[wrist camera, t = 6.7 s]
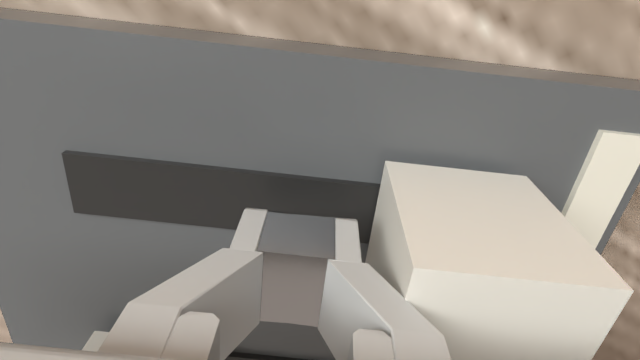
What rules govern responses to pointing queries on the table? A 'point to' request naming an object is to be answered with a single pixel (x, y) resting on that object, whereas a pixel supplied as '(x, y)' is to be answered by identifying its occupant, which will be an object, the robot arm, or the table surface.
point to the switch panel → (254, 154)
